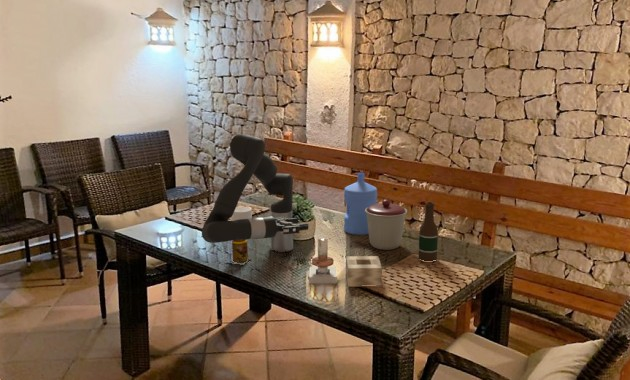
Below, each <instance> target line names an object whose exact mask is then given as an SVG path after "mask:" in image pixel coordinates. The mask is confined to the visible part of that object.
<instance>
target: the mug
mask: <svg viewBox="0 0 630 380" xmlns="http://www.w3.org/2000/svg"><path fill="white" fill-rule="evenodd" d="M252 215H253V210H252V207H250V206H236V209H235V211H234V213H233V215H232V217H231V218H230V221H234V220H240V219H249V218H253V216H252Z"/></svg>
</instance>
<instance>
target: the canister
mask: <svg viewBox="0 0 630 380" xmlns="http://www.w3.org/2000/svg"><path fill="white" fill-rule="evenodd" d="M365 212H366V213H367V223H368V233H369V234H368V239H369V244H370V246H371V247H373V248H375V249H378V250H382V251H389V250H396V249H398V248H399V247H400V245H401V244H402V240H403V235H404V227H405V221H406V220H405V219H406V214H407V213H408V209H406V208H405V207H404V206H402V205H399V204H396V203H391V201H390V200H389V199H383V200H382V202H381V203H377V204H374V205H371V206H369V207H367V208H366V209H365Z"/></svg>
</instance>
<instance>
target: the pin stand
mask: <svg viewBox="0 0 630 380" xmlns="http://www.w3.org/2000/svg"><path fill="white" fill-rule="evenodd" d="M308 271H309V276H308V277H309V281H308V283H309V285H310V284H337V283H338V281H337V280H338V273H337V267H336V266H328V274H323V275H318V267H317V266H310V267H309V270H308Z"/></svg>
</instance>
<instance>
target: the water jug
mask: <svg viewBox="0 0 630 380" xmlns="http://www.w3.org/2000/svg"><path fill="white" fill-rule="evenodd" d="M356 177H357V181H356V182H354V183H352V184H350V185H349V184H348V185H347V186H344V191H343V197H344V199H343V200H344V203H345V204H346V213H345V214H344V217H343V218H344V219H343V220H344V221H343V223H344V224H343V229H344V231H345V232H346V233H347V234H350V235H357V236H363V235H364V236H365V235H369V233H368V223H367V213H366V212H365V209H366V208H367V207H369V206H371V205H374V204H378V203H377V202H378V201H377V200H378V189H377V187H376V186H374V185H372V184H370V183H367V182H365V173H364V172H358V173H357V176H356Z"/></svg>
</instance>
